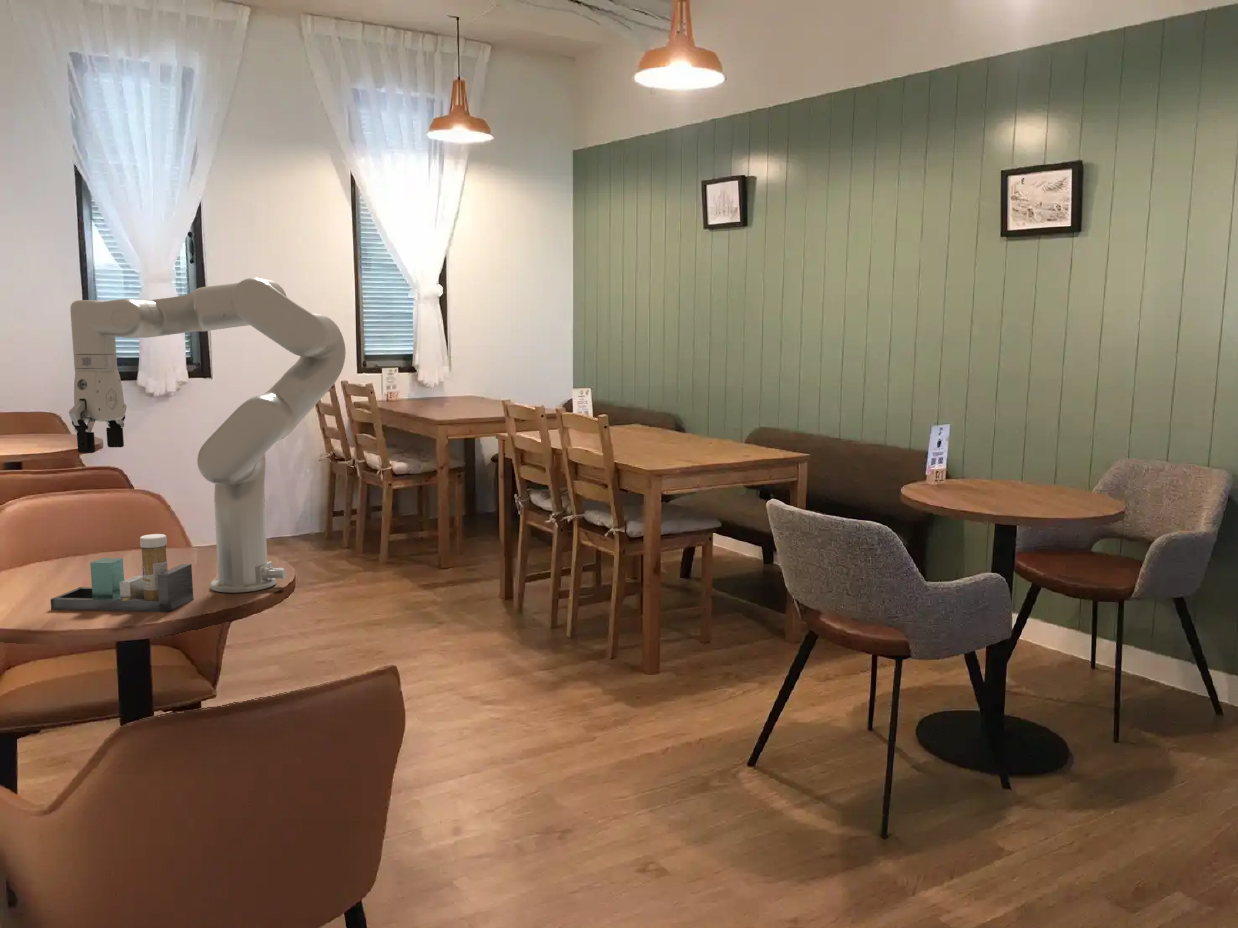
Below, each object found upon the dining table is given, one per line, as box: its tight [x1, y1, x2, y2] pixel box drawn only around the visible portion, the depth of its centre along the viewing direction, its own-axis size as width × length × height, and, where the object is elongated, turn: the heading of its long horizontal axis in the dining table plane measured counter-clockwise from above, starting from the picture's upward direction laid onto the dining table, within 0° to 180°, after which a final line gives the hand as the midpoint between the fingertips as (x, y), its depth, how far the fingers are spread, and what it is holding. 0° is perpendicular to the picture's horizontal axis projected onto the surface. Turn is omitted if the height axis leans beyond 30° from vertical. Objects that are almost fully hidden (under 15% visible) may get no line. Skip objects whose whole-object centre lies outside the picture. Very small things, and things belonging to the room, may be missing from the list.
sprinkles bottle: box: [139, 533, 169, 600], centre depth 190 cm, size 5×5×13 cm
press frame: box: [49, 563, 194, 613], centre depth 191 cm, size 23×9×7 cm, turn 85°
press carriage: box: [89, 557, 144, 600], centre depth 191 cm, size 8×6×8 cm
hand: (101, 449), depth 200 cm, fingers open, 9 cm apart
